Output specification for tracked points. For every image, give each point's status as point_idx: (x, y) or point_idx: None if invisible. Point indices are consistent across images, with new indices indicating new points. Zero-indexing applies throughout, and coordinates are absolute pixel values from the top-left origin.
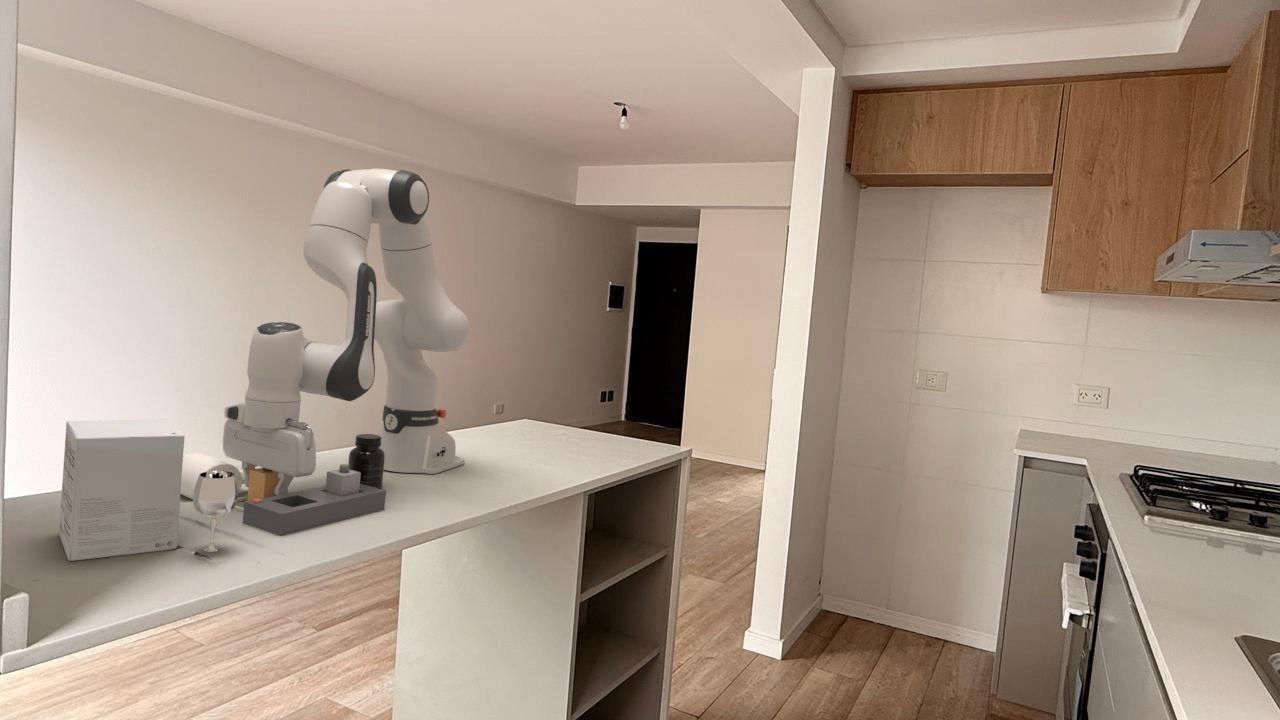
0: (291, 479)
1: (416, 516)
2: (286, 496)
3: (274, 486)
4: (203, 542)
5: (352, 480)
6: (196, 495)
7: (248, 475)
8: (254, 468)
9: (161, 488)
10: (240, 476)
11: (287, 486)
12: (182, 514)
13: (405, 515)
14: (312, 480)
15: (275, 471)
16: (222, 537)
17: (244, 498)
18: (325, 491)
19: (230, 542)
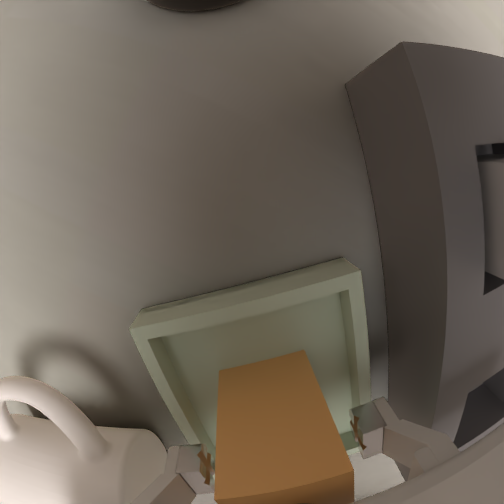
0: (437, 435)
1: (480, 20)
2: (454, 420)
3: (368, 456)
4: (386, 482)
5: None
6: None
7: (189, 500)
8: (157, 502)
9: None
10: (126, 478)
11: (397, 420)
12: (201, 494)
13: (471, 29)
14: None
15: (335, 497)
16: (386, 466)
17: (199, 438)
18: (491, 273)
19: None
